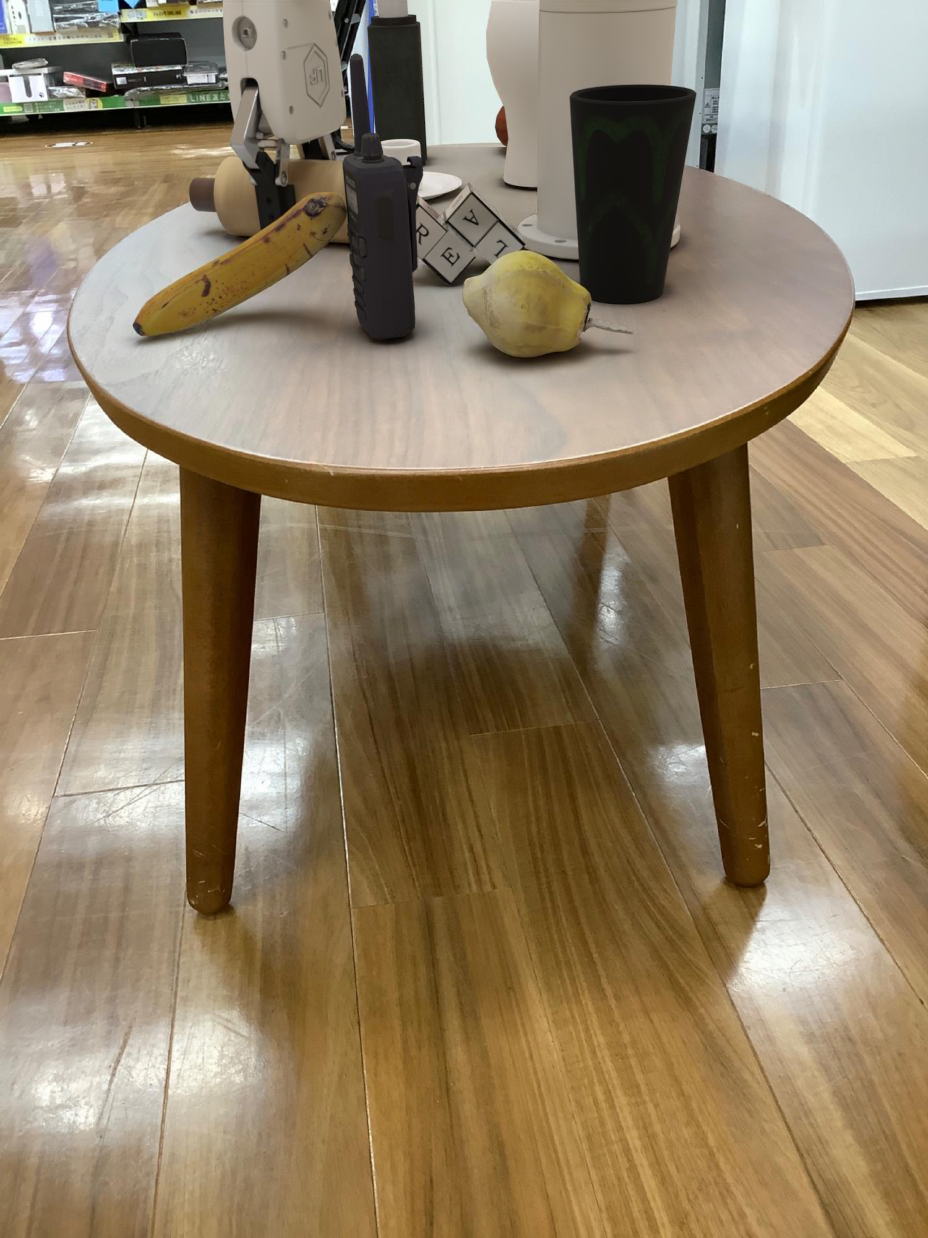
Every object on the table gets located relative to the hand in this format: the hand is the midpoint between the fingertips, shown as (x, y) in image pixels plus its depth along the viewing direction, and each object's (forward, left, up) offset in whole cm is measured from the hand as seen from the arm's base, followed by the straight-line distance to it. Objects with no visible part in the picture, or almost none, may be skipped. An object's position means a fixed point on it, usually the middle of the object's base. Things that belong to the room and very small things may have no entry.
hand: (301, 225), depth 82 cm
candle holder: (+11, -13, -1) cm, 17 cm away
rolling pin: (0, 0, -1) cm, 1 cm away
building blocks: (-16, -7, -1) cm, 18 cm away
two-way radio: (-25, +1, -1) cm, 25 cm away
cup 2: (+8, -27, -1) cm, 28 cm away
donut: (+22, -36, +4) cm, 42 cm away
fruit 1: (-20, +10, +4) cm, 23 cm away
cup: (-25, -15, -1) cm, 29 cm away
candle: (+25, -18, -1) cm, 31 cm away
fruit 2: (-33, -6, -1) cm, 33 cm away
